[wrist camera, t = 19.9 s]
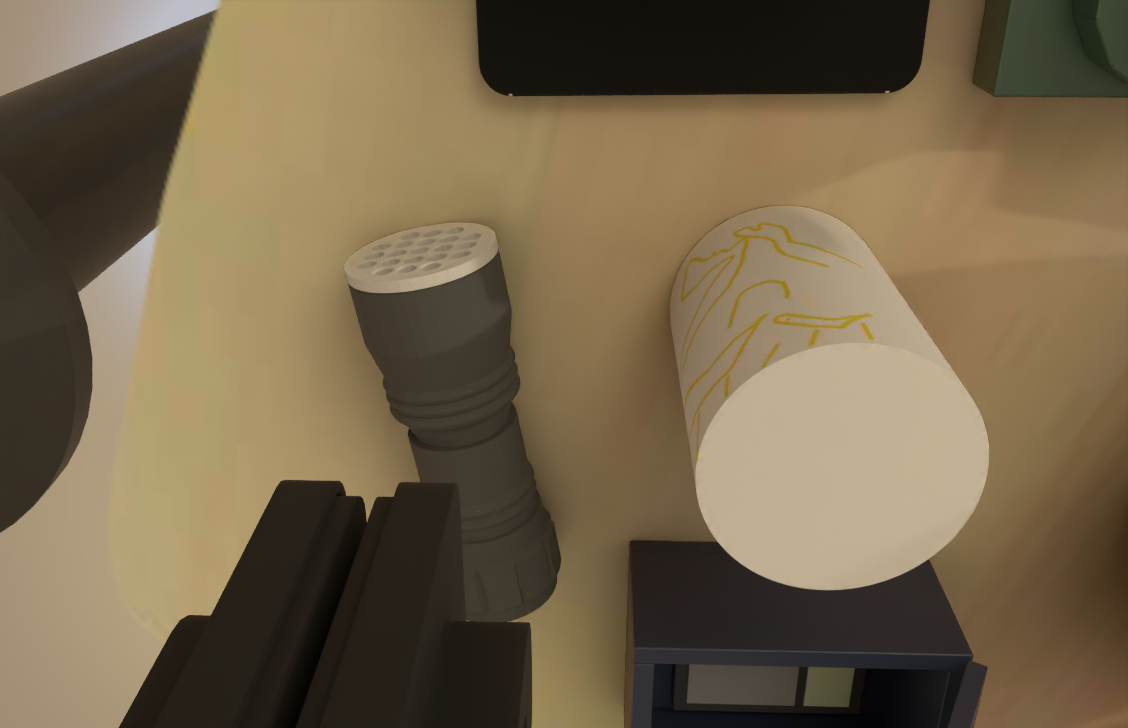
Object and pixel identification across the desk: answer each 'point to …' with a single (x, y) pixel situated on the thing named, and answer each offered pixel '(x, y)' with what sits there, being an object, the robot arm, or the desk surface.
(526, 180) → the desk surface
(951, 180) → the desk surface
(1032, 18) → the switch box
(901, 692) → the dark blue open box
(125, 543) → the desk surface
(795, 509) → the cup
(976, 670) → the cover
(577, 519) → the desk surface
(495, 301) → the flashlight
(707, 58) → the smartphone
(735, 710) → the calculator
